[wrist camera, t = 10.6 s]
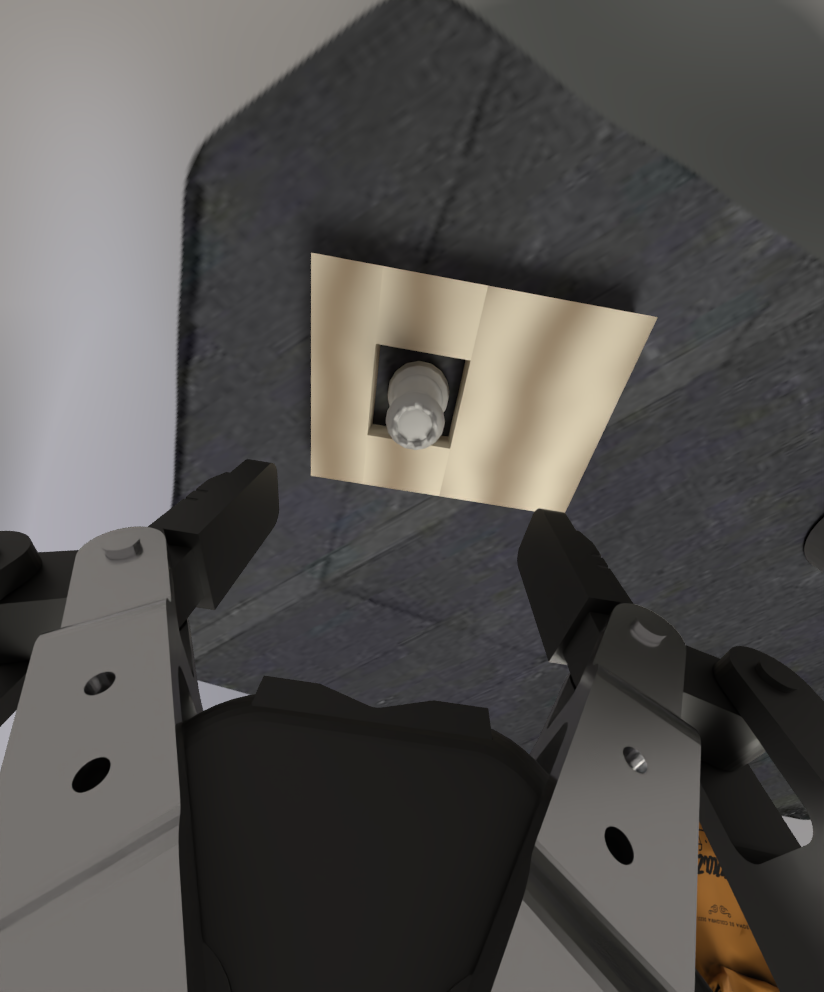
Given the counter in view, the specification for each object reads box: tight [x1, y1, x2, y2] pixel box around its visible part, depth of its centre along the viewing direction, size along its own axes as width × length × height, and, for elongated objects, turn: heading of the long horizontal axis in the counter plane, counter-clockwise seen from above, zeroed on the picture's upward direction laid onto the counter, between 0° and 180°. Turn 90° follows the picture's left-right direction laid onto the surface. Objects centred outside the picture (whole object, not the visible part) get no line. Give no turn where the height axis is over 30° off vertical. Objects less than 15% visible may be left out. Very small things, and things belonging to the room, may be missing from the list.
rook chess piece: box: [386, 361, 449, 450], centre depth 21 cm, size 4×4×8 cm
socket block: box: [311, 253, 657, 513], centre depth 23 cm, size 20×14×2 cm
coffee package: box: [695, 822, 780, 992], centre depth 36 cm, size 10×12×22 cm
